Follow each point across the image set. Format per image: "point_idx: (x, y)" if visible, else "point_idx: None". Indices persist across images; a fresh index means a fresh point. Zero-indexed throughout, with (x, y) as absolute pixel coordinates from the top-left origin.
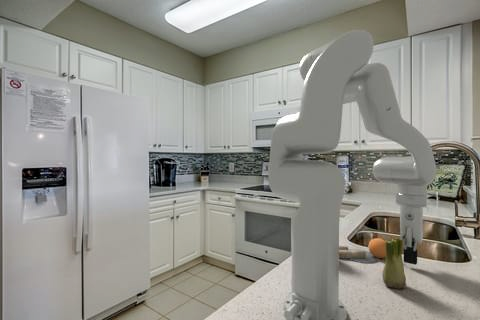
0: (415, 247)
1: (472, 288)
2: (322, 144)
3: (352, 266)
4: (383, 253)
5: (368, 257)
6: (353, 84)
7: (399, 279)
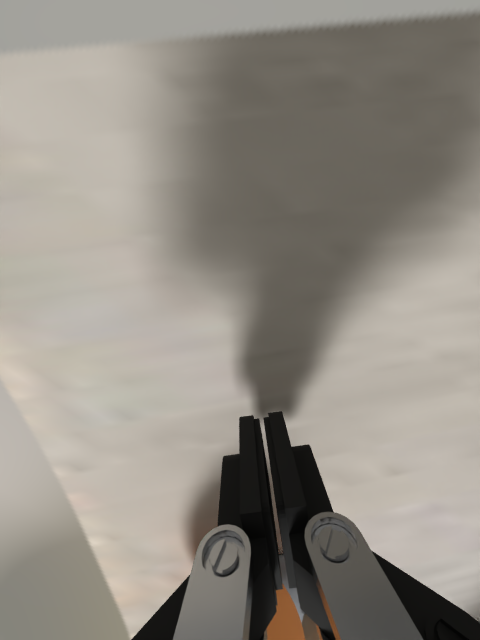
0: (380, 573)
1: (339, 45)
2: None
3: (467, 603)
4: (284, 597)
5: (293, 599)
6: None
7: None
